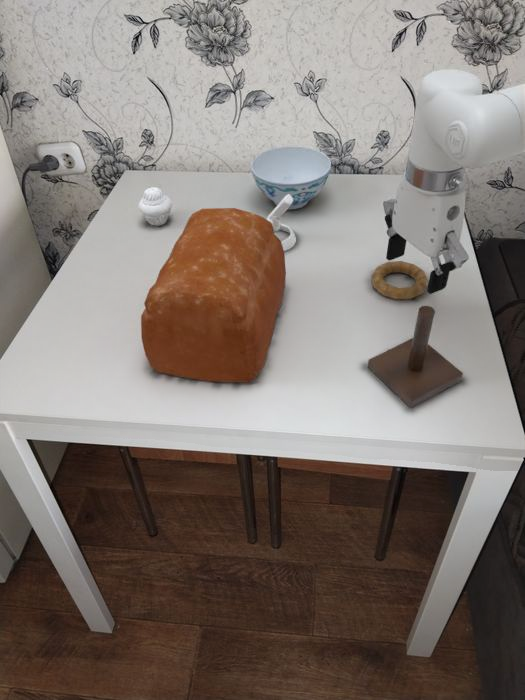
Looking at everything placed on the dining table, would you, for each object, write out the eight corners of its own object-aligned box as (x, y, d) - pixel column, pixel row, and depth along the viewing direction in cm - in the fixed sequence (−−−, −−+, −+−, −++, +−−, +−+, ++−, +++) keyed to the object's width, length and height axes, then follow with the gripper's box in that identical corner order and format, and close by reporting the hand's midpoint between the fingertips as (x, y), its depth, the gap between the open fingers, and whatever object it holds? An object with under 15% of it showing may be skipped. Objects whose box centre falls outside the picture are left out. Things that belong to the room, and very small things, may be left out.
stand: (461, 380, 80) (479, 317, 72) (410, 408, 77) (424, 345, 69) (416, 342, 86) (428, 279, 78) (367, 367, 83) (375, 304, 75)
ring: (438, 288, 95) (440, 279, 93) (395, 308, 92) (397, 299, 90) (401, 261, 100) (403, 253, 99) (360, 279, 97) (361, 270, 96)
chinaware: (329, 182, 121) (331, 146, 115) (328, 222, 110) (330, 184, 104) (257, 181, 122) (255, 145, 117) (248, 220, 111) (246, 183, 106)
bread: (289, 281, 98) (289, 201, 87) (259, 389, 80) (255, 305, 70) (190, 271, 100) (179, 193, 90) (141, 374, 83) (120, 291, 73)
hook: (311, 238, 97) (275, 214, 95) (276, 270, 107) (244, 249, 105) (323, 207, 101) (289, 183, 99) (289, 241, 111) (258, 220, 109)
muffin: (149, 211, 115) (143, 178, 110) (178, 214, 114) (173, 181, 109) (136, 228, 111) (129, 194, 106) (166, 232, 109) (160, 198, 104)
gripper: (503, 191, 75) (472, 296, 87) (414, 139, 86) (398, 238, 98) (458, 208, 72) (433, 313, 84) (372, 152, 83) (361, 252, 95)
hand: (414, 273), depth 91 cm, fingers open, 9 cm apart
